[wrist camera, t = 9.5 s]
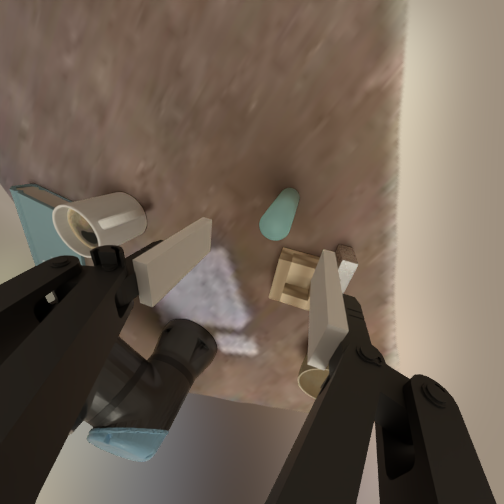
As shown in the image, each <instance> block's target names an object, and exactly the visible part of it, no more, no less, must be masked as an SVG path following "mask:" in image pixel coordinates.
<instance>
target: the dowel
mask: <svg viewBox="0 0 504 504" xmlns="http://www.w3.org/2000/svg"><path fill="white" fill-rule="evenodd" d="M299 200H300V196H299V193H298V192H297V191H296V190H295V189H293V188H286V189H284V190H283V191H282V192H281V193H280V194H279V195H278V197H277V198H276V199H275V201H274V202H273V203H272V204H271V206H270V207H269V208H268V210H267V211H266V212H265V213H264V215H263V216H262V217H261V219H260V222H259V227H260V231H261V233H262V234H263V235H264V236H265V237H266V238H268V239H270V240H275V241H276V240H281V239H283V238H285V237H286V236H287V235H288V233H289V231H290V228H291V225H292V222H293V219H294V216H295V213H296V209H297V206H298V203H299Z"/></svg>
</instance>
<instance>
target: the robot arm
mask: <svg viewBox="0 0 504 504" xmlns="http://www.w3.org/2000/svg"><path fill="white" fill-rule="evenodd" d="M211 231H212V219H208V218H205V217H202V218H200V219H199V220H197V221H195V222H194V223H192V224H191V225H189V226H187V227H186V228H184V229H182V230H181V231H179V232H177V233H176V234H174V235H172V236H171V237H169V238H168V239H166V240H164V241H163V240H159V241H156V242H153V243H151V244H149V245H147V246H146V247H144V248H142V249H141V250H139V251H137V252H135V253H134V254H132V255H130V256H128V257H127V258H125V257H124V252H123V249H122V247H119V246H116V245H104V246H99V247H96V248H94V249H92V250H90V254H91V258H92V261H93V264H94V266H85V265H81V263H80V260H79V259H78V257H76V256H70V255H64V256H58V257H54V258H51V259H49V260H47V261H45V262H43V263H41V264H39V265H37V266H35V267H33V268H31V269H29V270H27V271H25V272H24V273H22V274H20V275H18V276H16V277H14V278H12V279H10V280H8V281H6V282H4V283H3V284H1V285H0V504H35V502H36V499H37V497H38V495H39V493H40V490H41V488H42V487H43V485H44V483H45V481H46V478H47V477H48V475H49V473H50V471H51V468H52V467H53V465H54V463H55V461H56V459H57V457H58V455H59V453H60V450H61V449H62V447H63V445H64V443H65V441H66V439H67V437H68V435H70V434H72V433H73V432H74V430H75V429H76V428H77V427H78V426H79V425H80V424H81V423H82V422H83V421H86V422H87V423H89V424H90V425H92V426H93V429H91V430H90V431H89V435H88V436H87V441H88V442H89V443H91V444H93V445H94V446H96V447H98V448H100V449H102V450H105V451H107V452H109V453H111V454H114V455H117V456H120V457H123V458H126V459H130V460H134V461H138V462H143V461H147V460H149V459H151V458H152V457H153V456H154V455H155V453H156V452H157V450H158V448H159V447H160V445H161V443H162V442H163V440H164V438H165V436H166V435H167V434H168V432H169V429H170V427H171V425H172V423H173V421H174V419H175V417H176V416H177V414H178V412H179V410H180V408H181V406H182V404H183V402H184V400H185V398H186V396H187V394H188V392H189V390H190V388H191V386H192V384H193V383H194V381H195V379H196V378H197V377H198V376H199V375H200V374H201V373H202V372H203V371H204V370H205V369H206V368H207V367H208V366H209V365H210V364H211V362H212V361H213V359H214V357H215V355H216V353H217V346H216V343H215V341H214V339H213V338H212V336H211V335H210V334H209V333H208V332H207V331H206V330H205V329H204V328H202V327H201V326H199V325H197V324H196V323H193V322H191V321H188V320H183V319H176V320H172V321H170V322H169V323H168V324H167V325H166V327H165V328H164V329H163V331H162V333H161V335H160V337H159V340H158V342H157V345H156V347H155V349H154V352H153V354H152V355H151V356H150V358H149V359H148V360H146V359H144V358H143V357H142V356H141V355H140V354H139V353H137V352H136V351H135V350H134V349H133V348H132V347H130V346H129V345H128V344H127V343H126V342H125V341H124V340H122V339H121V338H120V337H119V334H120V332H121V330H122V328H123V326H124V324H125V322H126V320H127V318H128V316H129V314H130V312H131V310H132V308H133V305H134V301H133V299H134V298H135V297H137V296H138V295H139V299H140V303H142V304H145V305H147V306H150V307H154V306H155V305H156V304H157V303H158V302H159V301H160V300H161V299H162V298H163V297H164V296H165V295H166V294H167V293H168V292H169V291H170V290H171V289H172V288H173V287H174V286H175V285H176V284H177V283H178V282H179V281H180V280H181V279H182V278H183V277H184V276H185V275H186V274H187V273H188V272H189V271H191V270H192V269H193V268H194V267H195V266H196V265H197V264H198V263H199V262H200V261H201V260H202V259H203V258H204V257H205V256H206V255H207V254H208V253H209V252H210V248H211ZM51 292H52V293H53V295H54V297H55V300H54V301H52V302H51V303H48V301H47V299H46V297H45V296H46V295H48V294H49V293H51ZM362 313H363V312H362V309H361V305H360V304H359V302H358V301H357V300H356V298H355V297H352V296H349V295H346V294H342V290H341V284H340V278H339V273H338V267H337V261H336V256H335V252H332V251H328V250H325V249H323V251H322V254H321V256H320V259H319V261H318V264H317V266H316V269H315V272H314V274H313V277H312V279H311V288H310V312H309V336H308V360H307V364H308V365H310V366H313V367H316V368H318V369H321V370H325V369H326V367H327V365H328V364H329V375H328V376H327V378H326V379H325V381H324V382H323V384H322V385H321V387H320V388H321V390H320V392H319V394H318V396H317V398H316V400H315V402H314V404H313V406H312V408H311V410H310V412H309V414H308V416H307V418H306V421H305V422H304V425H303V427H302V429H301V431H300V433H299V435H298V437H297V439H296V441H295V443H294V445H293V447H292V449H291V451H290V453H289V455H288V457H287V459H286V461H285V464H284V466H283V468H282V470H281V472H280V474H279V476H278V478H277V480H276V482H275V484H274V486H273V488H272V490H271V492H270V494H269V496H268V498H267V500H266V502H265V504H356V502H357V497H358V492H359V488H360V483H361V479H362V474H363V469H364V464H365V460H366V455H367V451H368V446H369V441H370V437H371V432H372V428H373V423H374V421H375V429H376V443H377V463H378V479H379V497H380V504H496V501H495V499H494V496H493V494H492V491H491V489H490V486H489V484H488V481H487V479H486V476H485V474H484V471H483V468H482V466H481V463H480V461H479V459H478V456H477V453H476V450H475V448H474V445H473V443H472V440H471V438H470V435H469V433H468V430H467V428H466V425H465V423H464V420H463V418H462V415H461V412H460V410H459V407H458V405H457V404H456V402H455V401H454V399H453V397H452V396H451V395H450V394H449V393H448V391H447V390H446V389H445V388H443V387H442V386H441V385H440V384H439V383H437V382H436V381H434V380H433V379H431V378H429V377H427V376H423V375H420V374H419V375H414V376H413V377H412V378H411V379H409V378H407V377H406V376H404V375H402V374H401V373H399V372H398V371H396V370H394V369H393V368H391V367H390V366H388V365H387V364H386V363H385V360H384V358H383V356H382V354H381V353H380V352H379V351H378V349H377V348H375V347H374V346H373V345H371V341H370V337H369V334H368V330H367V327H366V323H365V321H364V316H363V314H362Z"/></svg>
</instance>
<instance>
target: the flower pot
mask: <svg viewBox="0 0 504 504" xmlns="http://www.w3.org/2000/svg"><path fill="white" fill-rule="evenodd" d="M307 360H308V354H307V355H306V357H305V359H304V361H303V363H302V365H301V368H300V371H299V375H298V384H299V387H300V388H301V389H302V390H303V391H304V392H305V393H306V394H307V395H309V396H310V397H312V398H314V399H316V398H317V396H318V394H319V392H320V390H321V388H320V387H321V385H322V384H323V382H324V381H325V379H326V378H327V376H328V375H329V364H328V365H327V367H326V369H325V370H321V369H318V368H316V367H313V366H310V365H308V364H307Z"/></svg>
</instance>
